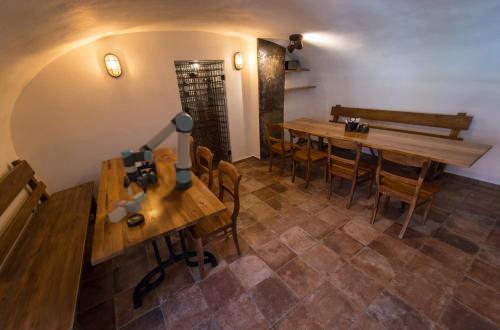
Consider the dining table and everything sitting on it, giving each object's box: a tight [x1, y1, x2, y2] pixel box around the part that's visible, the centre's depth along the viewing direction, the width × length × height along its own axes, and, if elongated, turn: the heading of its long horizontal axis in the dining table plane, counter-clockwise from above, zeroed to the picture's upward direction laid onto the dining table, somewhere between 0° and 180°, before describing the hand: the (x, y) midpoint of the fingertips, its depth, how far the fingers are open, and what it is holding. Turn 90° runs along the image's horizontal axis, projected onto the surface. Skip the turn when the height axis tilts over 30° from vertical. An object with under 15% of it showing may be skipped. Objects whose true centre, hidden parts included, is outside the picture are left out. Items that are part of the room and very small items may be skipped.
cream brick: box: [107, 207, 128, 224], centre depth 141 cm, size 5×9×6 cm, turn 167°
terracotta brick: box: [111, 199, 129, 211], centre depth 151 cm, size 9×5×6 cm, turn 77°
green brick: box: [131, 191, 148, 204], centre depth 160 cm, size 5×9×6 cm, turn 167°
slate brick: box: [125, 200, 143, 214], centre depth 149 cm, size 9×5×6 cm, turn 78°
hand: (137, 196), depth 159 cm, fingers open, 13 cm apart
